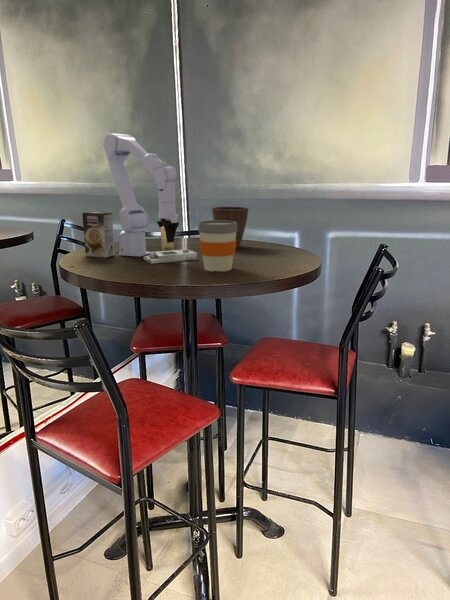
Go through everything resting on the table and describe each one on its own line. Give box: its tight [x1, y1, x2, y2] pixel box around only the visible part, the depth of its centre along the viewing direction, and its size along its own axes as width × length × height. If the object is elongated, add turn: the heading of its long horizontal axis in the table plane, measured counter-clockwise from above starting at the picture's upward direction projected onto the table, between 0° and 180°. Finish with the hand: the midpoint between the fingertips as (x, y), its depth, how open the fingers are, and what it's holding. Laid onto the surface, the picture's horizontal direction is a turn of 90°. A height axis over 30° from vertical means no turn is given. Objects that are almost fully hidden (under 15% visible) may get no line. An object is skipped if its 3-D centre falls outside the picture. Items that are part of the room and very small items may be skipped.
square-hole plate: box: [143, 248, 198, 265], centre depth 168 cm, size 17×9×3 cm, turn 116°
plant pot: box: [211, 206, 249, 249], centre depth 192 cm, size 15×15×16 cm
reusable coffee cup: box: [197, 220, 237, 273], centre depth 151 cm, size 13×13×15 cm
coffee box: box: [81, 211, 115, 259], centre depth 174 cm, size 9×6×16 cm
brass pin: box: [159, 226, 174, 251], centre depth 166 cm, size 4×4×8 cm
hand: (168, 241), depth 166 cm, fingers closed on brass pin, 4 cm apart
